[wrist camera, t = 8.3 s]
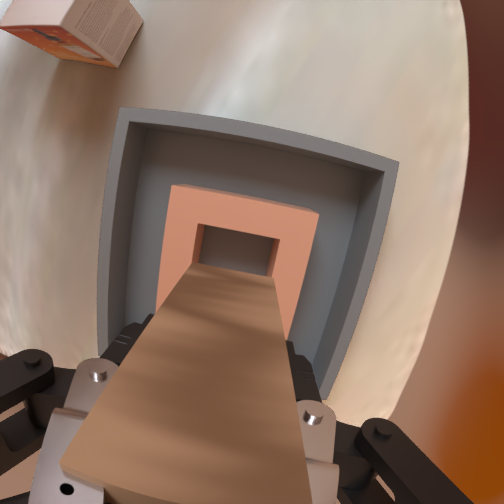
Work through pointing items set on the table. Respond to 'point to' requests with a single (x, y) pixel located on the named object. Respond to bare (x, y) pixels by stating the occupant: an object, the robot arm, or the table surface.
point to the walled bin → (242, 222)
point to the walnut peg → (200, 403)
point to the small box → (75, 28)
